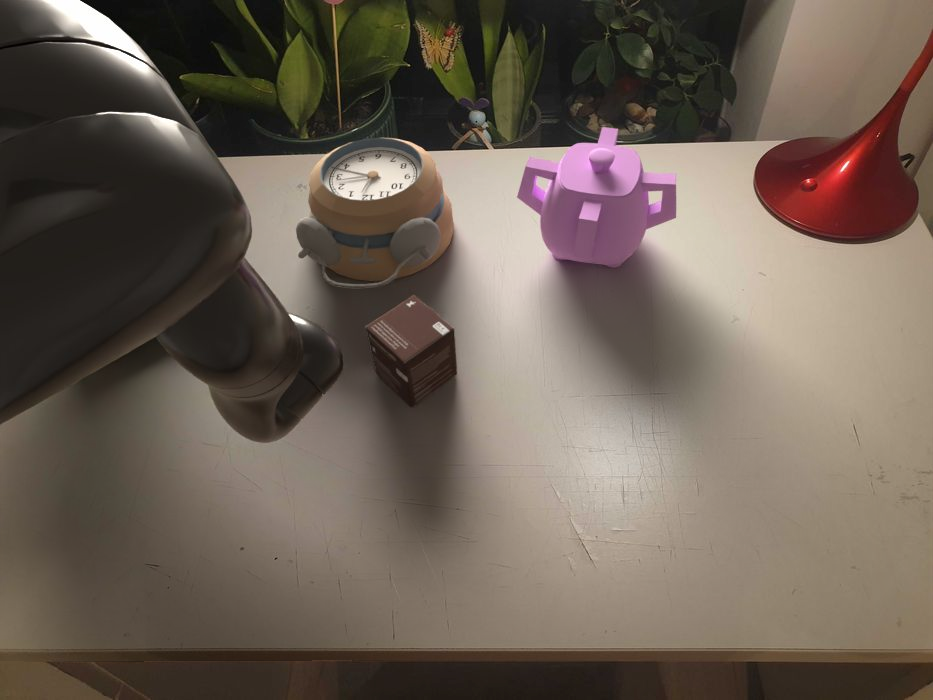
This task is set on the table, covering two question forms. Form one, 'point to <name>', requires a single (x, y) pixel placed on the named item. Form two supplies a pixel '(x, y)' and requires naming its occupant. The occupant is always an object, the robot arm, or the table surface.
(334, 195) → the alarm clock
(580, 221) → the pot
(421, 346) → the box
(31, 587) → the table surface
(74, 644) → the table surface
